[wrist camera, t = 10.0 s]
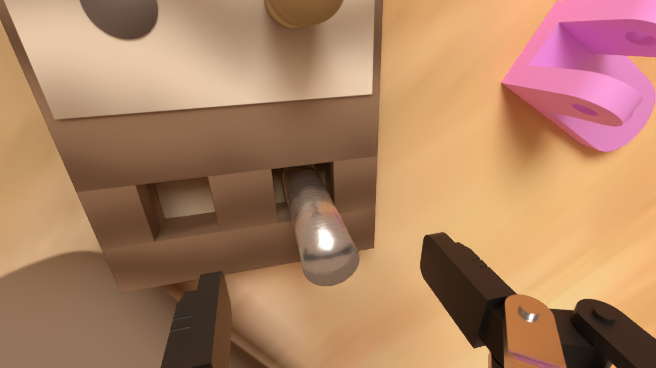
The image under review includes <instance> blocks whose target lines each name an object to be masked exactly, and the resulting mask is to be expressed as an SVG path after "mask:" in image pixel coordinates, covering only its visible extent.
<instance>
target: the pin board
mask: <svg viewBox="0 0 656 368" xmlns="http://www.w3.org/2000/svg"><path fill="white" fill-rule="evenodd" d="M382 11H383V0H0V20H1V22H2V24H3V27H4V29H5V31H6V33H7V36H8V38H9V40H10V42H11V45H12V47H13V49H14V52H15V54H16V56H17V58H18V61H19V63H20V65H21V67H22V70H23V72H24V74H25V76H26V79H27V81H28V83H29V86H30V88H31V90H32V92H33V95H34V97H35V99H36V101H37V104H38V106H39V108H40V111H41V113H42V115H43V117H44V120H45V122H46V124H47V126H48V129H49V131H50V133H51V135H52V138H53V140H54V142H55V145H56V147H57V149H58V151H59V154H60V156H61V158H62V160H63V163H64V165H65V167H66V170H67V172H68V174H69V176H70V179H71V181H72V183H73V185H74V188H75V190H76V192H77V194H78V197H79V199H80V201H81V204H82V206H83V208H84V210H85V213H86V215H87V217H88V219H89V222H90V224H91V226H92V229H93V231H94V233H95V235H96V238H97V240H98V242H99V244H100V247H101V249H102V251H103V254H104V256H105V258H106V260H107V262H108V265H109V267H110V269H111V272H112V274H113V276H114V278H115V281H116V283H117V285H118V287H119V290H120V292H121V293H124V292H129V291H135V290H141V289H146V288H152V287H158V286H163V285H169V284H175V283H180V282H186V281H192V280H197V279H199V278H200V275H201V274H207V273H212V272H218V271H223V274H224V275H225V274H231V273H237V272H242V271H248V270H253V269H259V268H265V267H270V266H276V265H282V264H287V263H293V262H299V261H301V259H300V255H299V251H298V246H297V242H296V238H295V233H294V229H293V225H292V220H291V216H290V212H289V207H288V203H287V202H283V203H276V204H275V196H274V188H273V180H272V172H271V169H275V168H284V167H292V166H301V165H309V164H317V163H325V176H326V189H327V191H328V193H329V195H330V197H331V199H332V201H333V203H334V205H335V207H336V209H337V211H338V213H339V215H340V217H341V219H342V221H343V223H344V225H345V227H346V229H347V231H348V233H349V235H350V237H351V239H352V241H353V243H354V245H355V247H356V249H357V251H360V250H366V249H372V248H374V233H375V205H376V177H377V150H378V122H379V94H380V67H381V39H382ZM200 177H208V180H209V185H210V189H211V193H212V198H213V202H214V207H215V211H216V212H212V213H205V214H198V215H191V216H184V217H177V218H170V219H165V218H164V214H163V211H162V208H161V205H160V202H159V198H158V195H157V192H156V189H155V186H154V183H158V182H167V181H175V180H183V179H192V178H200Z"/></svg>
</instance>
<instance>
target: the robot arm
mask: <svg viewBox="0 0 656 368" xmlns="http://www.w3.org/2000/svg"><path fill="white" fill-rule="evenodd" d="M420 269H421V273H422V276H423V278H424V280H425V281H426V282H427V284H428V285H429V287H430V288H431V289H432V291H433V292H434V294H435V295H436V296H437V298H438V299H439V301H440V302H441V303H442V305H443V306H444V308H445V309H446V310H447V312H448V313H449V315H450V316H451V317H452V319H453V320H454V322H455V323H456V324H457V326H458V327H459V329H460V330H461V331H462V333H463V334H464V336H465V337H466V338H467V340H468V341H469V343H470V344H471V345H472V347H473V348H478V347H481V346H485V345H486V347H487V348H488V349H489V355H488V368H610V367H611V365H612V364H613V365H614V366H616V367H617V368H656V339H655V338H653V337H652V336H651V335H650V334H648V333H647V332H646V331H645V330H643V329H642V328H641V327H640V326H638V325H637V324H636V323H635V322H633V321H632V320H631V319H630V318H628V317H627V316H626V315H625V314H623V313H622V312H621V311H619V310H618V309H616V308H615V307H613V306H611V305H609V304H607V303H605V302H602V301H598V300H594V299H583V300H580V301H579V302H578V303H577V305H576V307H575V309H574V310H560V309H549V308H548V307H547V306H546V305H544V304H543V303H542V302H540V301H539V300H537V299H535V298H532V297H529V296H526V295H519V294H518V295H517V294H516V293H515V292H514V291H513V290H512V289H511V288H510V287H509V286H508V285H507V284H506V283H505V282H504V281H503V280H502V279H501V278H500V277H499V276H498V275H497V274H496V273H495V272H494V271H493V270H492V269H491V268H490V267H487V265H486V264H485V263H484V262H483V261H482V260H480V258H479V257H478V256H477V255H476V254H475V253H474V252H473V251H472V250H471V249H470V248H468V247H466V246H464V245H462V244H461V243H459V242H457V243H455V242H454V241H453V240H452V239H451V238H450V237H449V236H448V235H447V234H446V233H444V232H441V233H436V234H430V235H426V236H425V237H424V239H423V246H422V254H421V261H420ZM231 321H232V313H231V303H230V298H229V294H228V290H227V286H226V282H225V277H224V274H223V271H218V272H212V273H207V274H201V275H200V278H199V283H198V288H197V290H196V291H190V292H186V293H185V294H184V296H183V297H182V298H181V300H180V301H179V302H178V304H177V306H176V310H175V314H174V318H173V322H172V325H171V329H170V330H171V332H170V333H169V337H168V341H167V345H166V349H165V353H164V357H163V361H162V365H161V368H229V360H230V341H231Z"/></svg>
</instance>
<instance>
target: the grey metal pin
mask: <svg viewBox="0 0 656 368" xmlns="http://www.w3.org/2000/svg"><path fill="white" fill-rule="evenodd" d="M282 181H283V186H284V190H285V194H286V199H287V203H288V207H289V212H290V216H291V220H292V225H293V229H294V233H295V238H296V242H297V246H298V251H299V255H300V259H301V263H302V268H303V272H304V275H305V276H306V278H307V279H308V280H309V281H310V282H312V283H314V284H316V285H320V286H332V285H336V284H339V283H341V282H343V281H345V280H346V279H348V278H349V277H350V276H351V275H352V274H353V273H354V272H355V270H356V268H357V266H358V263H359V253H358V251H357V249H356V247H355V245H354V243H353V241H352V239H351V237H350V235H349V233H348V231H347V229H346V227H345V225H344V223H343V221H342V219H341V217H340V215H339V213H338V211H337V209H336V207H335V205H334V203H333V201H332V199H331V197H330V195H329V193H328V191H327V189H326V187H325V185H324V183H323V181H322V179H321V177H320V175H319V173H318V172H317V170H316V168H315V166H314V165H313V164H309V165H301V166H292V167H285V169H284V170H283V173H282Z"/></svg>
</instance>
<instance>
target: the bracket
mask: <svg viewBox="0 0 656 368" xmlns="http://www.w3.org/2000/svg"><path fill="white" fill-rule="evenodd" d="M627 56H645V57H656V0H565V1H556V3H555V4H554V6H553V7H552V9H551V10H550V12H549V13H548V14H547V16H546V17H545V19H544V20H543V22H542V23H541V25H540V26H539V28H538V29H537V31H536V32H535V33H534V35H533V36H532V38H531V39H530V41H529V42H528V44H527V45H526V47H525V48H524V50H523V51H522V53H521V54H520V55H519V57H518V58H517V60H516V61H515V63H514V64H513V66H512V67H511V69H510V70H509V72H508V73H507V74H506V76H505V77H504V79H503V80H502V82H501V83H502V84H503V85H505V86H506V87H507V88H508V89H510V90H511V91H512V92H514V93H515V94H516V95H518V96H519V97H520V98H522V99H523V100H524V101H526V102H527V103H528V104H529V105H531V106H532V107H533V108H535V109H536V110H537V111H539V112H540V113H541V114H543V115H544V116H545V117H546V118H548V119H549V120H550V121H552V122H553V123H554V124H556V125H557V126H558V127H560V128H561V129H562V130H563V131H565V132H566V133H567V134H569V135H570V136H571V137H573V138H574V139H575V140H577V141H578V142H579V143H581V144H582V145H584V146H587V147H590V148H593V149H596V150H599V151H603V152H609V151H614V150H616V149H619V148H621V147H623V146H624V145H626V144H627V143H629V142H630V141H631V140H632V139H633V138H634V137H635V136H636V135H637V134H638V133H639V132H640V131H641V130H642V128H643V127H644V126H645V124H646V123H647V121H648V119H649V117H650V115H651V113H652V110H653V107H654V103H655V89H654V86H653V84H652V83H651V82H650V81H649V80H648V79H647V77H646V76H645V75H644V74H643V73H642V72H641V71H640V70H639V69H638V68H637V67H636V66H635V64H634V63H633V62H632V61H631V60H630V59H629V58H628V57H627Z"/></svg>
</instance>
